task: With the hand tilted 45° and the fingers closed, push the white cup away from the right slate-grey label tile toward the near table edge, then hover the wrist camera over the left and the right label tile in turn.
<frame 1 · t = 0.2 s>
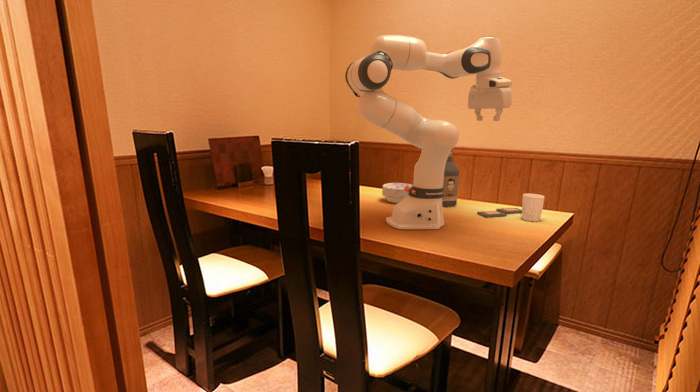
hand: (487, 120, 142), 39 cm above the table, tool pointing down, fingers open, 8 cm apart
liquor: (444, 205, 173), on the table
tile right: (510, 212, 162), on the table
tile left: (491, 215, 156), on the table
paper bowls: (397, 201, 178), on the table
white cup: (530, 219, 151), on the table
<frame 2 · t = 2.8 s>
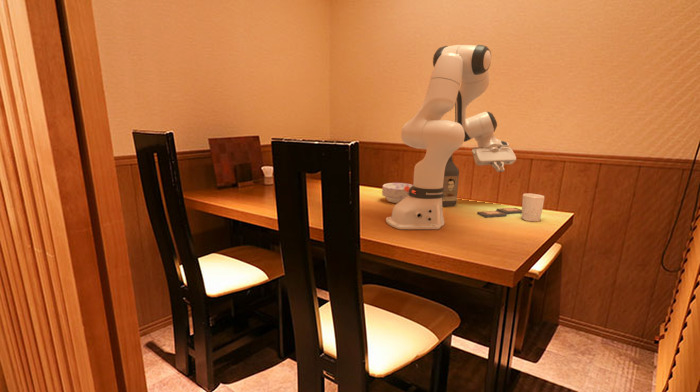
hand: (501, 171, 168), 17 cm above the table, tool tilted 45°, fingers closed
nothing on the table moved.
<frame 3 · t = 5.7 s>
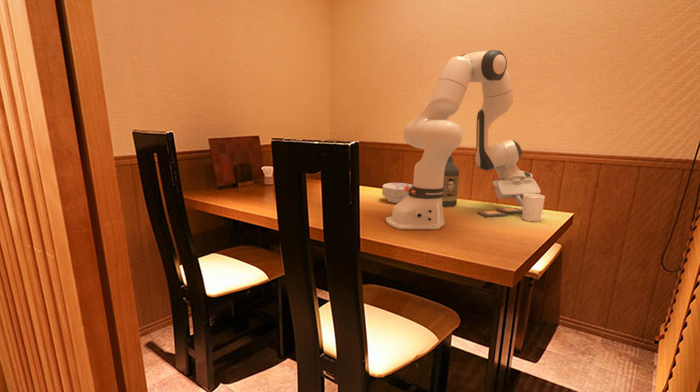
hand: (524, 205, 154), 5 cm above the table, tool tilted 45°, fingers closed
white cup: (530, 219, 151), on the table, touching gripper
everything else where it was.
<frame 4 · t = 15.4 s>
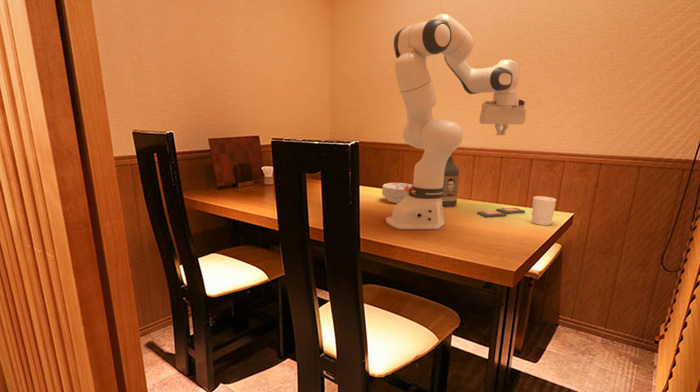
hand: (500, 135, 156), 33 cm above the table, tool pointing down, fingers closed
white cup: (541, 223, 146), on the table
everything else where it was.
at the end: white cup inside the target area (2.4 cm from its centre), on the table; white cup tilted 0°; white cup touching table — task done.
